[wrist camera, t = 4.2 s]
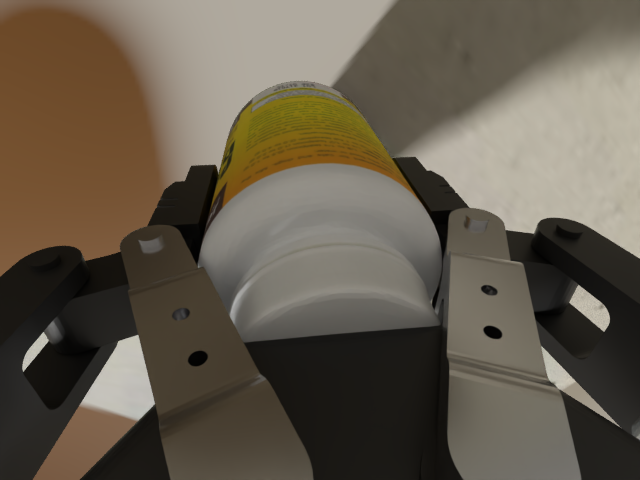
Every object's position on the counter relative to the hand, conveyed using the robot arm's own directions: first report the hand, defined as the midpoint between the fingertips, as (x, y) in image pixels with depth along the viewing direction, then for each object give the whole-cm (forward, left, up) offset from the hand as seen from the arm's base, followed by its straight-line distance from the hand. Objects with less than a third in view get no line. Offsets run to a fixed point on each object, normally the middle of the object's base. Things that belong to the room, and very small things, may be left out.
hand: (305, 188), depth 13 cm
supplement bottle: (0, 0, -3) cm, 3 cm away
